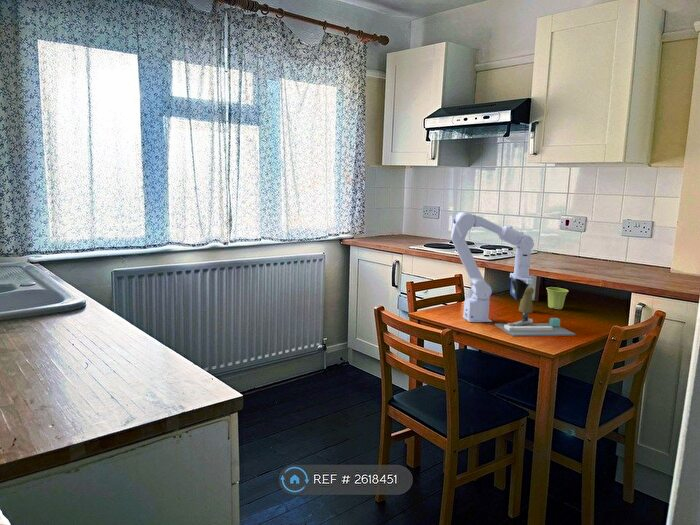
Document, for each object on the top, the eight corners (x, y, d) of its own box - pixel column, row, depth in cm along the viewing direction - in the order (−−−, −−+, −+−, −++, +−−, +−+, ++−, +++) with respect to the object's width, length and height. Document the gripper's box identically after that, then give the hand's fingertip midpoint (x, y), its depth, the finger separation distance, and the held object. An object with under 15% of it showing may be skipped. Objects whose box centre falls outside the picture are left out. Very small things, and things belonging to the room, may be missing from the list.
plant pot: (559, 305, 245) (561, 287, 244) (570, 310, 236) (572, 291, 234) (540, 305, 243) (542, 287, 242) (551, 310, 234) (553, 291, 233)
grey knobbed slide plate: (512, 336, 190) (513, 329, 190) (494, 325, 205) (494, 319, 204) (575, 335, 194) (576, 329, 194) (553, 324, 209) (553, 318, 209)
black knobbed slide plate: (515, 327, 198) (516, 316, 198) (509, 326, 200) (510, 315, 199) (532, 322, 208) (533, 311, 207) (527, 320, 210) (528, 310, 209)
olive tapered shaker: (533, 313, 227) (536, 288, 225) (519, 312, 228) (521, 287, 226) (531, 310, 233) (534, 285, 231) (517, 309, 234) (519, 284, 232)
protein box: (530, 294, 267) (533, 264, 265) (538, 301, 252) (541, 269, 250) (509, 293, 268) (512, 263, 266) (515, 300, 253) (518, 268, 251)
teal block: (552, 326, 203) (553, 319, 202) (549, 324, 205) (549, 317, 205) (559, 326, 203) (560, 319, 203) (556, 324, 206) (556, 317, 205)
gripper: (541, 268, 202) (537, 302, 204) (522, 262, 216) (519, 294, 218) (524, 268, 201) (520, 302, 203) (506, 262, 215) (503, 294, 217)
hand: (518, 298), depth 210 cm, fingers closed
